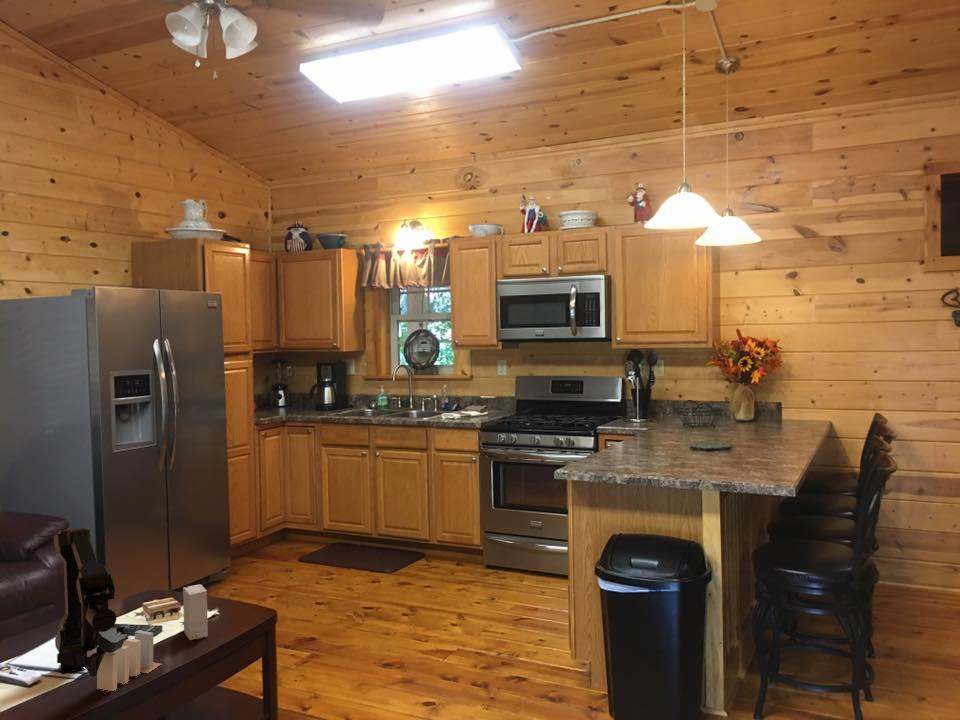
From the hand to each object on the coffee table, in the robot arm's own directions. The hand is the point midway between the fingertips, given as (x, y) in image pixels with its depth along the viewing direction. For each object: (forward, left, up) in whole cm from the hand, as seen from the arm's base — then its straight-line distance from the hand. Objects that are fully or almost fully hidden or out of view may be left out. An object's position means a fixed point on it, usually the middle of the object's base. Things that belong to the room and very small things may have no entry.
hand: (93, 676), depth 200 cm
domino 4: (+13, +13, -6) cm, 19 cm away
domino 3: (+10, +10, -6) cm, 15 cm away
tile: (+13, +13, -6) cm, 19 cm away
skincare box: (+29, +31, -6) cm, 43 cm away
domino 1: (+3, +3, -6) cm, 8 cm away
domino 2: (+7, +7, -6) cm, 11 cm away
